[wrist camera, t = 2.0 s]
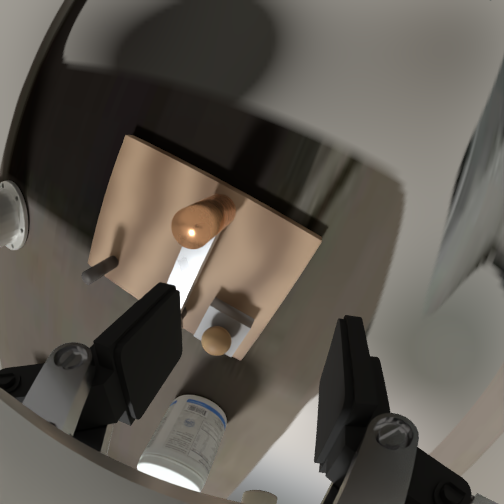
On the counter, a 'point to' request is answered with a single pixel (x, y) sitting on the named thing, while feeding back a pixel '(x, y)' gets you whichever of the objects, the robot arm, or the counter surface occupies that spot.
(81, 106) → the counter surface
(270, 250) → the board
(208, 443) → the supplement tub
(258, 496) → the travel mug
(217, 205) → the lever
